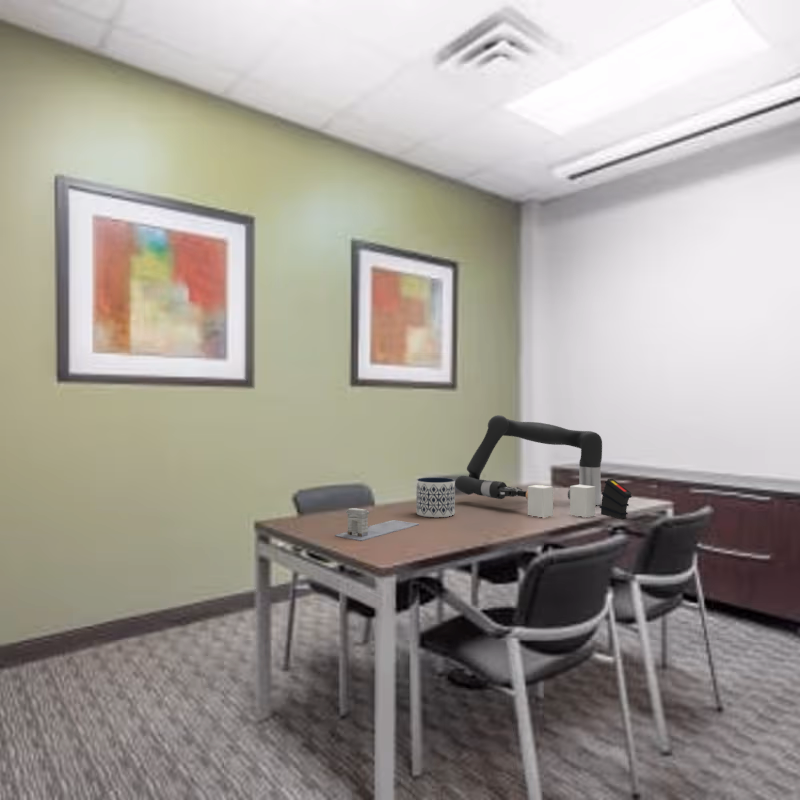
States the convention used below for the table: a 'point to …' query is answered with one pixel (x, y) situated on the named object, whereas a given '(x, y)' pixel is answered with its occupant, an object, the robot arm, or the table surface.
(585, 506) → the block
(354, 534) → the grey plate with block
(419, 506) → the planter
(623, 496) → the magazine
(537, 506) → the block
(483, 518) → the table surface
